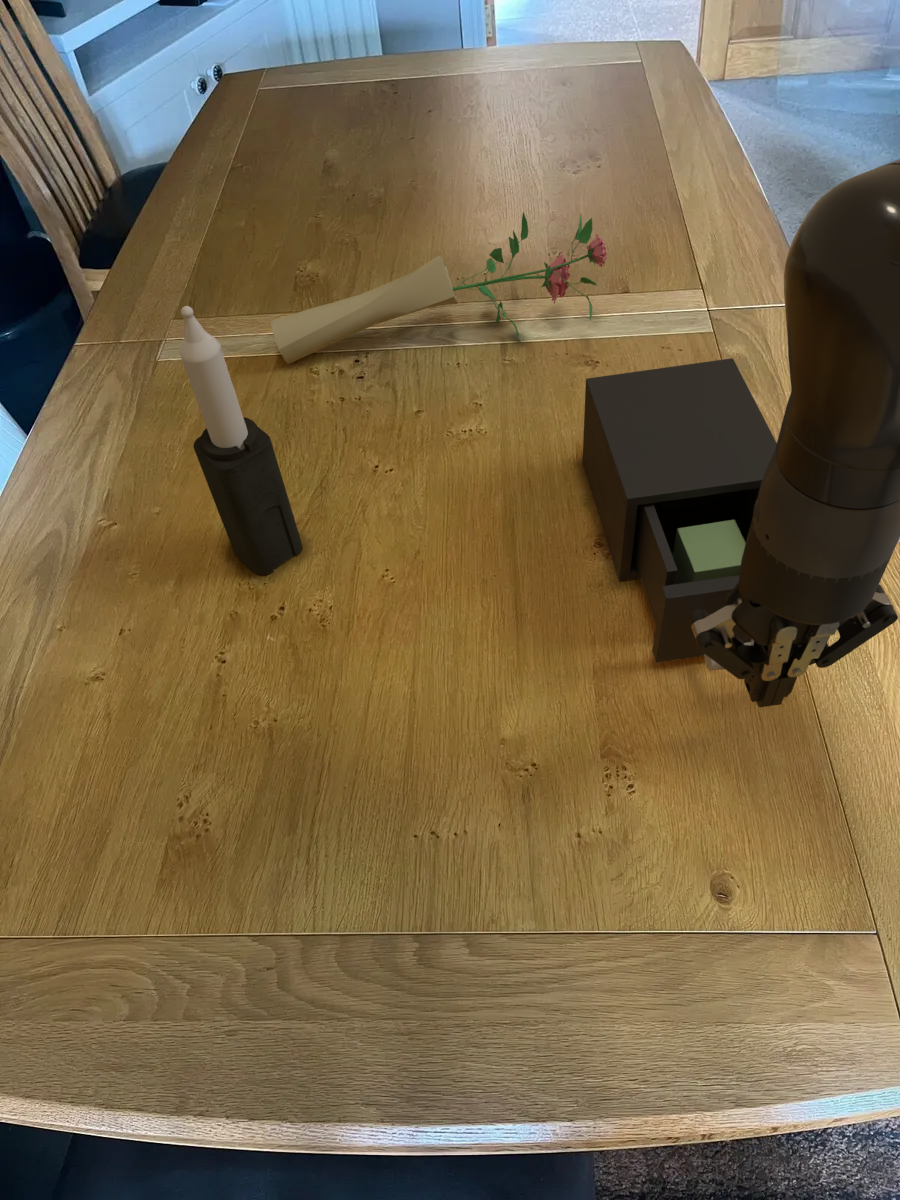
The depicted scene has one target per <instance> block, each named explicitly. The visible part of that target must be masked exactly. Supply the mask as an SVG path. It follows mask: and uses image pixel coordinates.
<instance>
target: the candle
mask: <svg viewBox="0 0 900 1200" xmlns="http://www.w3.org/2000/svg"><path fill="white" fill-rule="evenodd" d="M180 314H181V316H182V317H183V339H182V342H181V345H180V348H179V356H180V359H181V361H182V364H183V368H184V370H185V373H186V375H187V378H188V380H189V383H190V386H191V389H192V392H193V394H194V397H195V400H196V403H197V405H198V408H199V411H200V414H201V416H202V419H203V422H204V425H205V427H206V428H205V429H204V430H203V431H202V433H201V435H200V436H199V437H197V438H196V439H195V440H194V442H193V445H192V446H193V450H194V452H195V455H196V458H197V460H198V463H199V465H200V468H201V471H202V474H203V476H204V478H205V481H206V484H207V487H208V489H209V491H210V495H211V497H212V499H213V502H214V504H215V507H216V510H217V512H218V515H219V518H220V520H221V523H222V525H223V527H224V530H225V533H226V535H227V538H228V541H229V543H230V546H231V548H232V552H233V553H234V556H235V557H236V558H237V559H238V560H239V561H240V562H241V563H243V564H244V565H245V566H246V567H247V568H248V569H249V570H250V571H251V572H252V573H253V574H254V575H257V576H260V577H261V576H263V577H264V576H268V575H270V574H273V573H274V570H275V569H278V568H279V567H280V566H282V565H283V564H284V563H286V562H287V561H289V560H290V559H292V558H293V557H297V556H299V555H301V553H302V551H303V543H302V539H301V536H300V533H299V529H298V526H297V522H296V520H295V515H294V512H293V509H292V506H291V503H290V498H289V496H288V493H287V489H286V485H285V483H284V479H283V476H282V472H281V469H280V465H279V463H278V459H277V455H276V453H275V450H274V445H273V442H272V439H271V436H270V435H269V434H268V433H267V432H265V430H263V429H262V428H260V427H259V426H258V425H257V423H256V422H255V421H254V420H252V419H250V418H249V417H245V416H244V415H243V412H242V409H241V405H240V402H239V400H238V397H237V393H236V390H235V387H234V384H233V380H232V377H231V375H230V372H229V368H228V365H227V363H226V359H225V356H224V353H223V350H222V346H221V344H220V341H219V340H218V339H217V338H215V337H214V335H211V334H210V333H208V332H207V331H206V330H205V329H204V327H203V326H202V325H201V323H200V322H199V321H198V319H197V318H196V317H195V315H194V309H193V308H192V307H191V306H189V305H184V306H183V307H182V308H181V310H180Z"/></svg>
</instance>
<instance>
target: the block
mask: <svg viewBox="0 0 900 1200" xmlns="http://www.w3.org/2000/svg"><path fill="white" fill-rule="evenodd" d="M745 544H746V543H745V541H744V539H743V537H742V534H741V532H740V530H739V528H738V526H737V524H736V522H735V520H728V521H721V522H715V523H709V524H702V525H696V526H690V527H683V528H677V532H676V538H675V544H674V551H673V559H674V562H675V564H676V567H677V570H678V571H677V576H676V581H677V584H681V583H688V582H695V581H702V580H709V579H716V578H723V577H730V576H737V575H740V567H741V560H742V556H743V552H744V548H745Z"/></svg>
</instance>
